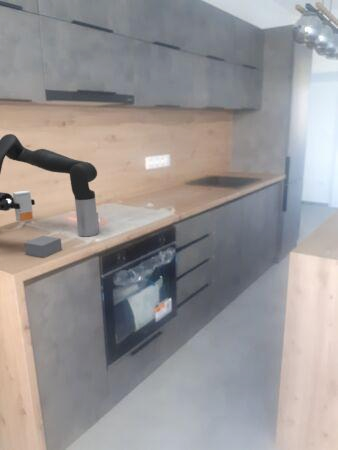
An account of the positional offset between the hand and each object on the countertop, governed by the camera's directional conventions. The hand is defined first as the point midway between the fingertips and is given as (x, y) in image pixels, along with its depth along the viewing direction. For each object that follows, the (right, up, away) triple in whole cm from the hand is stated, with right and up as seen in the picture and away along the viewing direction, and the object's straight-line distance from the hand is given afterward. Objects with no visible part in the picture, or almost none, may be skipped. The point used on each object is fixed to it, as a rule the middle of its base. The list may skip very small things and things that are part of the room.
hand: (26, 204), depth 149 cm
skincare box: (-2, -7, +3) cm, 8 cm away
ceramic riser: (+6, -19, +2) cm, 21 cm away
